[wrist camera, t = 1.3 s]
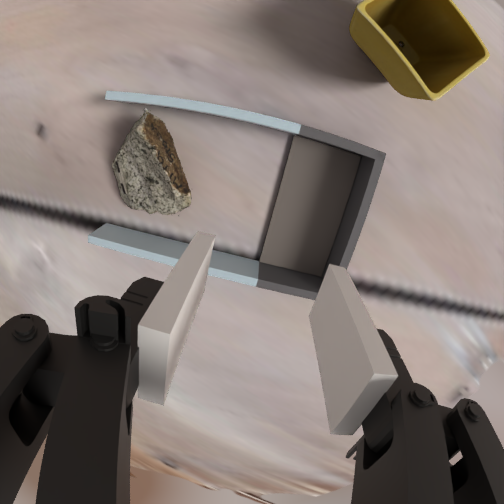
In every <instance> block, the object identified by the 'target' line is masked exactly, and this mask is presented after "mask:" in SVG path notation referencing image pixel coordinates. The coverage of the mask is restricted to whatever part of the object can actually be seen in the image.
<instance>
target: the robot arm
mask: <svg viewBox="0 0 504 504" xmlns="http://www.w3.org/2000/svg"><path fill="white" fill-rule="evenodd" d="M215 236H216V235H211V234H207V233H203V232H199V231H198V232H197V233H196V235H195V236H194V238H193V239H192V241H191V242H190V244H189V245H188V247H187V248H186V250H185V251H184V253H183V254H182V256H181V257H180V259H179V260H178V262H177V263H176V265H175V266H174V268H173V270H172V271H171V273H170V274H169V276H168V277H167V279H166V280H165V282H162V281H158V280H155V279H151V278H147V277H143V278H141V279H139V280H137V281H135V282H133V283H132V284H131V286H130V287H129V288H128V289H127V291H126V292H125V293H124V294H123V296H122V297H121V299H117V298H114V297H110V296H99V295H97V296H92V297H87V298H85V299H84V300H82V301H80V302H79V303H78V304H77V305H76V306H75V317H76V326H77V334H78V335H77V336H72V335H62V334H55V333H49V328H48V325H47V324H46V322H45V320H43V319H42V318H40V317H39V316H36V315H33V314H20V315H17V316H14V317H12V318H11V319H9V320H8V321H7V322H6V323H5V324H3V325H2V326H1V327H0V504H13V502H14V500H15V498H16V495H17V493H18V491H19V489H20V487H21V485H22V483H23V480H24V478H25V476H26V474H27V472H28V470H29V468H30V466H31V464H32V462H33V460H34V458H35V456H36V455H37V452H38V451H39V449H40V447H41V445H42V443H43V441H44V439H45V438H46V436H47V434H48V436H47V440H46V444H45V449H44V454H43V459H42V465H41V470H40V477H39V482H38V490H37V497H36V504H130V449H131V429H132V414H133V403H132V399H133V397H134V395H135V393H136V390H137V388H138V398H140V399H143V400H147V401H150V402H153V403H156V404H160V405H163V406H164V403H165V400H166V397H167V394H168V391H169V388H170V385H171V382H172V379H173V377H174V374H175V371H176V368H177V365H178V362H179V359H180V357H181V354H182V351H183V348H184V345H185V342H186V340H187V337H188V334H189V331H190V329H191V326H192V323H193V320H194V318H195V315H196V312H197V309H198V307H199V304H200V301H201V299H202V296H203V293H204V289H205V284H206V279H207V274H208V269H209V265H210V260H211V255H212V250H213V245H214V241H215ZM309 319H310V323H311V328H312V333H313V338H314V344H315V349H316V354H317V359H318V364H319V370H320V375H321V381H322V386H323V392H324V398H325V404H326V410H327V416H328V422H329V428H330V434H337V435H353V434H354V433H355V431H356V430H357V429H358V428H359V427H360V426H361V424H362V427H363V431H364V435H363V436H362V437H361V438H360V439H359V441H358V442H357V443H356V444H355V445H354V446H353V447H352V448H351V449H350V450H349V451H348V452H347V455H346V458H349V457H350V456H351V455H352V454H353V453H354V452H355V451H356V450H357V452H356V456H355V457H354V458H353V459H354V460H356V464H355V475H354V484H353V492H352V500H351V504H504V449H503V447H502V445H501V443H500V441H499V439H498V437H497V435H496V433H495V431H494V429H493V427H492V425H491V423H490V421H489V419H488V417H487V416H486V414H485V412H484V411H483V409H482V408H481V407H480V405H478V403H477V402H475V401H473V400H470V399H465V398H464V399H461V400H460V401H459V402H458V403H457V404H456V406H455V407H454V408H453V409H451V408H448V407H444V406H441V405H438V403H437V400H436V398H435V396H434V395H433V394H432V392H431V391H430V390H429V389H427V388H426V387H424V386H422V385H420V384H418V383H413V381H412V379H411V376H410V374H409V372H408V370H407V368H406V366H405V364H404V362H403V360H402V358H400V357H401V356H400V354H399V352H398V350H397V348H396V346H395V344H394V342H393V340H392V339H391V338H390V337H389V336H388V334H387V333H386V332H385V331H384V330H381V329H376V327H375V325H374V323H373V321H372V319H371V317H370V315H369V313H368V311H367V309H366V307H365V305H364V303H363V301H362V299H361V297H360V295H359V293H358V291H357V289H356V287H355V285H354V283H353V281H352V280H351V278H350V276H349V274H348V272H347V270H346V268H344V267H340V266H336V265H332V264H329V266H328V269H327V271H326V274H325V277H324V279H323V282H322V284H321V287H320V290H319V292H318V295H317V297H316V300H315V302H314V305H313V307H312V310H311V312H310V315H309ZM459 451H461V453H462V456H463V458H462V459H460V460H459V461H458V462H457V463H456V464H455V465H451V464H450V462H449V460H450V459H451V458H452V457H454V456H455V455H456V454H457V453H458V452H459Z"/></svg>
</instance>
